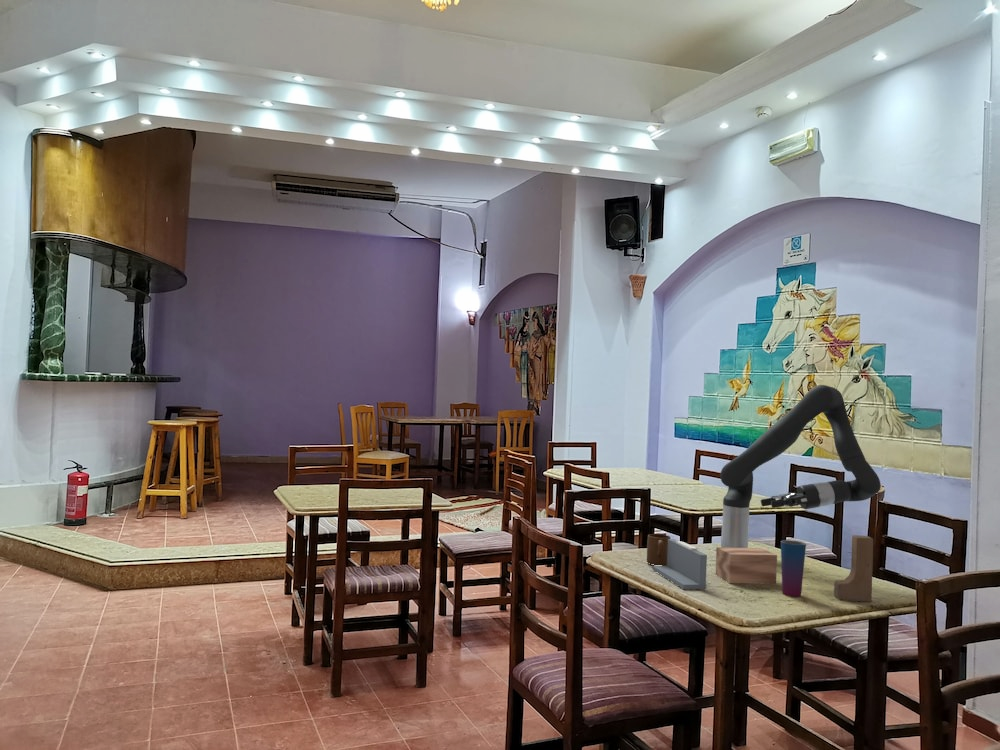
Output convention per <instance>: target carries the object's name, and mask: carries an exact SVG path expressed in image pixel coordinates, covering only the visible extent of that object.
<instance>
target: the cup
mask: <svg viewBox="0 0 1000 750" xmlns="http://www.w3.org/2000/svg"><path fill="white" fill-rule="evenodd" d="M806 548H807V544H806V542H803V541H799V540H792V539H791V540H789V539H785V540H781V541H780V560H781V561H780V562H781V590H782V591H781V592H782V595H784V596H787V597H791V598H792V597H793V598H799V597H801V596H802V589H803V579H804V569H805V568H804V567H805V560H806V558H805V557H806V550H807V549H806Z"/></svg>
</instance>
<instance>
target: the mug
mask: <svg viewBox="0 0 1000 750" xmlns="http://www.w3.org/2000/svg"><path fill="white" fill-rule="evenodd" d="M668 539H671V536H669V535H666V534H662V533H651V534H648V535H647V541H646V543H647V544H646V562H648V563H650V564H654V565H662V566H667V551H668ZM648 563H647V564H648Z"/></svg>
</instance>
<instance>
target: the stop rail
mask: <svg viewBox="0 0 1000 750" xmlns="http://www.w3.org/2000/svg"><path fill="white" fill-rule="evenodd" d="M707 560H708V554H706V553H703V552H701V551H699V550H698V549H697V547H695V546H693V545H692V544H689V543H687V542H684V541H679V540H676V539H674V538H672V539H671V538H670V539H668V551H667V566H653V565H651V570H652V569H653V570H654V571H656V572H658V573H659V574H661V575H662V576H664V577H665V578H667V579H669V580H670V581H672V582H673V583H675V584H676V585H678V586H680V587H681V588H682V589H681V588H680V589H681V590H683V589H706V588H707V562H708V561H707ZM654 571H653V572H654ZM659 574H658V575H659ZM662 576H661V577H662ZM665 578H664V579H665ZM667 579H666V580H667ZM670 581H669V582H670ZM673 583H672V584H673ZM675 584H674V585H675ZM676 585H675V586H676ZM678 586H677V587H678Z"/></svg>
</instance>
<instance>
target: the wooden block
mask: <svg viewBox="0 0 1000 750" xmlns="http://www.w3.org/2000/svg"><path fill="white" fill-rule="evenodd" d="M850 559H851V564H850V567H851V568H850V572H849V575H848V576H847V577H846V578H845V579H837V580H836V579H835V580H834V581H833V596H834V597H835V598H836V599H837V598H838V599H837V600H839V599H841V600H840V601H849V600H851V602H861V601H863V603H865V602H866V603H872V596H873V595H872V594H873V591H872V590H873V565H874V563H873V561H874V560H873V559H874V538H873V537H870V536H868V535H858V534H853V535H852V536H851V558H850Z"/></svg>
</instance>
